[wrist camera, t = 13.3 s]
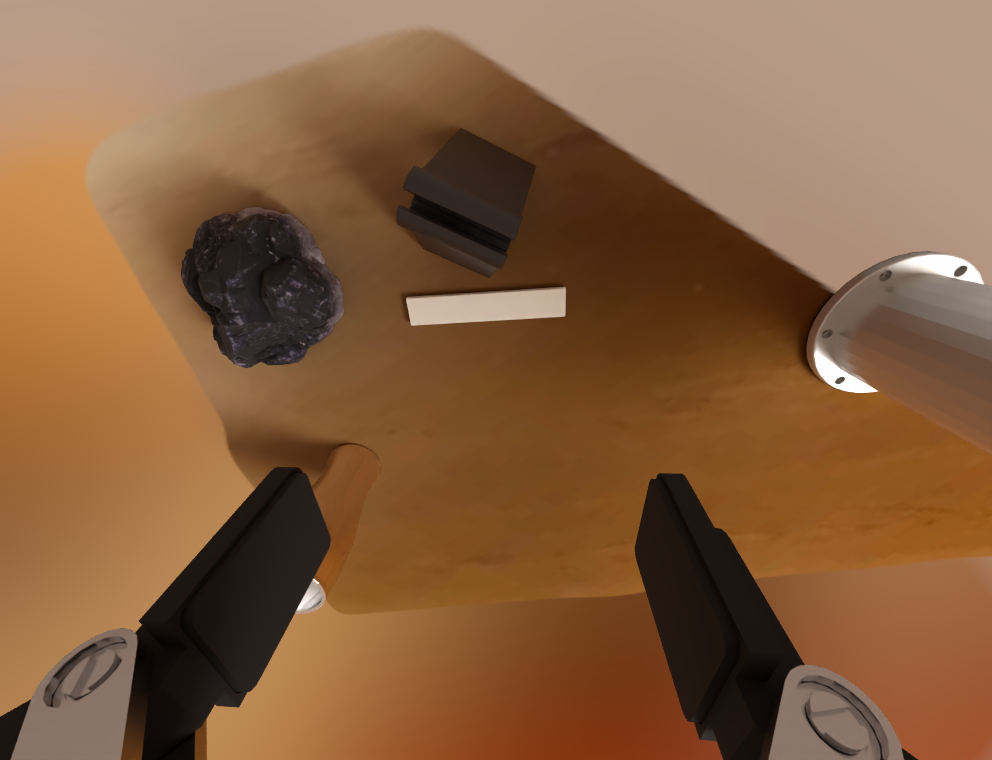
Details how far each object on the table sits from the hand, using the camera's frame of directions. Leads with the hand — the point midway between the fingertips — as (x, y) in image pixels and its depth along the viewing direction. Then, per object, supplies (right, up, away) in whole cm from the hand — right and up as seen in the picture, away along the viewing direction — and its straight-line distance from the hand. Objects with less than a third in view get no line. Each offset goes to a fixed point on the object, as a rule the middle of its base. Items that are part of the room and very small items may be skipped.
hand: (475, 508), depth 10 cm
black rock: (-19, +12, +22) cm, 32 cm away
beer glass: (-16, -6, +32) cm, 36 cm away
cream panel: (0, +10, +22) cm, 25 cm away
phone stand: (-1, +17, +19) cm, 25 cm away
